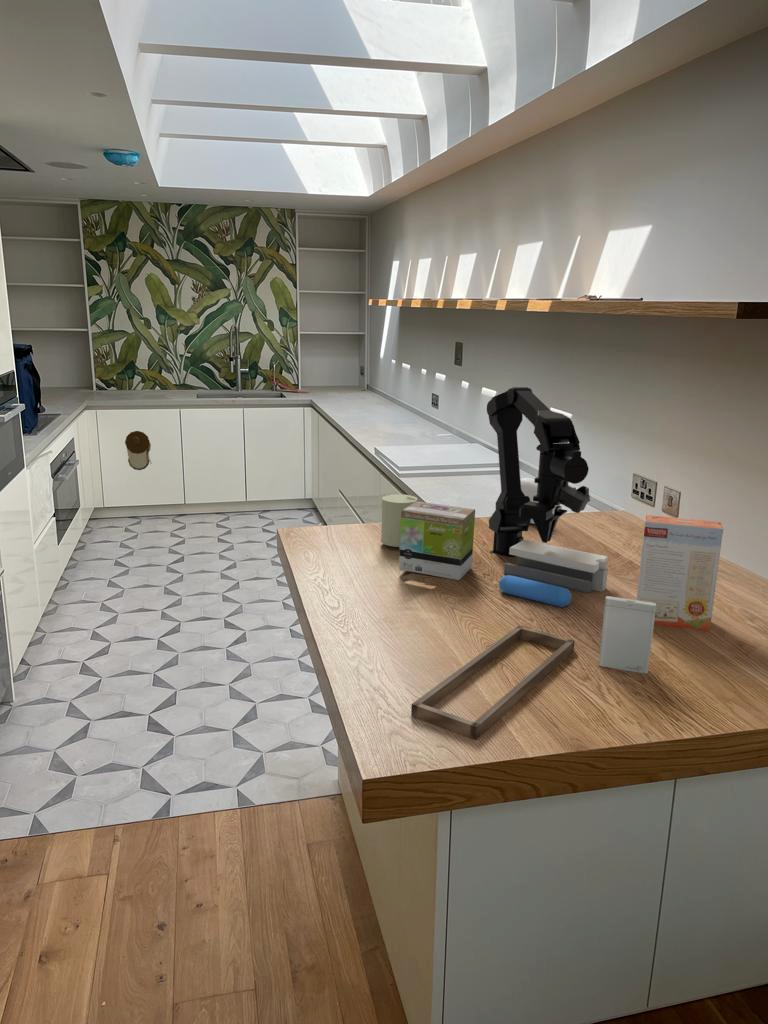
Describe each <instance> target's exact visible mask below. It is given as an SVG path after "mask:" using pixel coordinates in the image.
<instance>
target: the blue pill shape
mask: <svg viewBox="0 0 768 1024" xmlns="http://www.w3.org/2000/svg"><path fill="white" fill-rule="evenodd" d="M498 584H499V585H498V586H499V589H500V590H501V592H503V593H504V594H507V595H512V596H515V597H520V598H522V599H527V600H532V601H536V602H540V603H543V604H549V605H552V606H557V607H562V608H563V607H566V606H568V605H569V604H571V601H572V593H571V591H570V589H566V588H563V587H559V586H555V585H550V584H546V583H542V582H537V581H533V580H529V579H524V578H520V577H516V576H511V575H506V574H505V575H504V576H502V577H501V578H500V580H499V583H498Z"/></svg>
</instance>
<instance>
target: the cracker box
mask: <svg viewBox="0 0 768 1024" xmlns="http://www.w3.org/2000/svg"><path fill="white" fill-rule="evenodd" d="M644 518H645V519H644V527H643V535H642V545H641V552H640V553H641V554H640V561H639V562H640V563H639V573H638V583H637V590H636V592H637V593H636V600H638V601H645V602H652V603H656V611H655V619H654V625H660V626H667V627H668V626H669V627H677V628H685V629H693V630H700V631H701V630H702V631H710V630H711V626H712V625H711V624H712V617H713V610H714V609H713V608H714V602H715V595H716V594H715V593H716V585H717V581H718V573H719V564H720V557H721V548H722V541H723V535H724V534H723V533H724V528H723V527H724V526H723V525H722V522H721V521H714V520H701V519H694V518H693V519H692V518H682V517H670V516H659V515H652V514H651V515H649V514H647V515H645V517H644Z"/></svg>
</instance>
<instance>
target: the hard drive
mask: <svg viewBox="0 0 768 1024" xmlns="http://www.w3.org/2000/svg"><path fill="white" fill-rule="evenodd" d="M604 600H605V601H604V609H603V618H602V628H601V635H600V637H601V638H600V639H601V640H600V648H599V655H598V656H599V659H598V666H599V667H603V668H609V669H614V670H618V671H619V670H620V671H625V672H626V671H627V672H633V673H638V674H649V668H650V660H651V651H652V643H653V635H654V627H655V626H654V625H655V624H654V619H655V611H656V603H652V602H645V601H638V600H637V599H631V598H625V597H624V598H622V597H619V596H617V597H616V596H608V595H605V599H604Z"/></svg>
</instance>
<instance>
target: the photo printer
mask: <svg viewBox="0 0 768 1024" xmlns="http://www.w3.org/2000/svg"><path fill="white" fill-rule="evenodd" d="M520 480H521V490H522V492H523V493H524V495H525V496H529V498H530V501H531V502H537V501H533V496H536V495H537V485H538V483H534V481H535V478H531V477H522V478H520ZM537 503H539V502H537ZM530 524H534V525H535V523H534V521H533V519H531V521H530Z"/></svg>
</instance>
